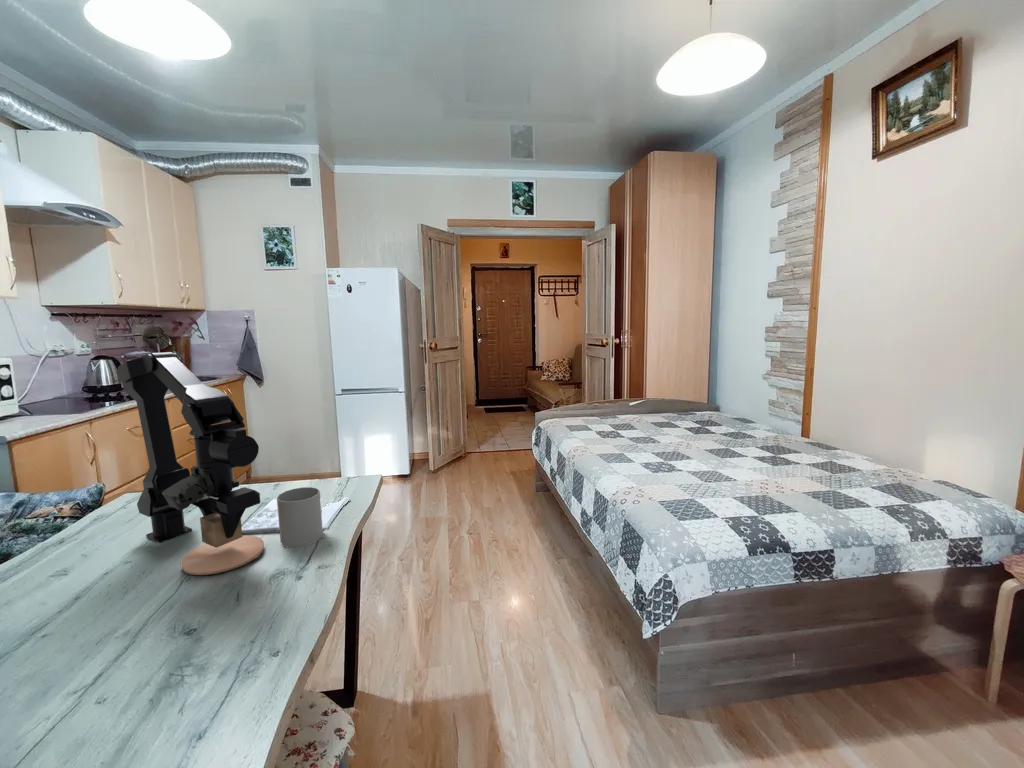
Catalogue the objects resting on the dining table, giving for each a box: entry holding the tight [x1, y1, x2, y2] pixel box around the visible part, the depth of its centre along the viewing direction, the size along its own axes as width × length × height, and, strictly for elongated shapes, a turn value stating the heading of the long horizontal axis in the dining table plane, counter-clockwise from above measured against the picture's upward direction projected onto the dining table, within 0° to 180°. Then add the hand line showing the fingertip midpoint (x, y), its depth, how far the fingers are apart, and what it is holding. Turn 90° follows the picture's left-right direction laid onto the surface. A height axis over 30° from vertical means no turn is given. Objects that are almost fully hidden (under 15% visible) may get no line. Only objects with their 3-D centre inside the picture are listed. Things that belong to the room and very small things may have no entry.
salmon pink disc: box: [180, 534, 265, 576], centre depth 90 cm, size 14×14×1 cm
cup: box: [276, 486, 324, 548], centre depth 97 cm, size 8×8×10 cm
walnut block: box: [199, 513, 243, 548], centre depth 89 cm, size 5×5×5 cm
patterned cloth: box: [242, 496, 349, 535], centre depth 110 cm, size 19×20×2 cm
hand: (222, 534), depth 89 cm, fingers closed on walnut block, 5 cm apart
